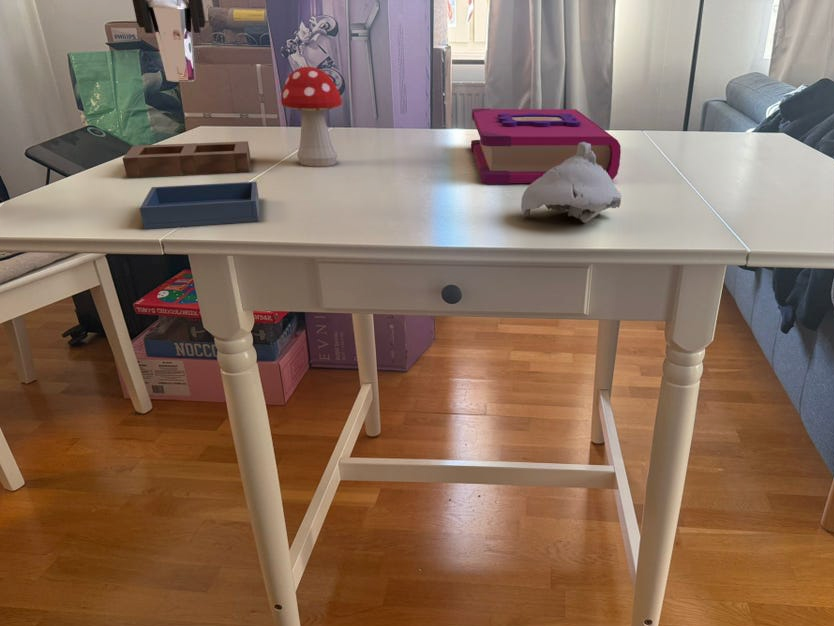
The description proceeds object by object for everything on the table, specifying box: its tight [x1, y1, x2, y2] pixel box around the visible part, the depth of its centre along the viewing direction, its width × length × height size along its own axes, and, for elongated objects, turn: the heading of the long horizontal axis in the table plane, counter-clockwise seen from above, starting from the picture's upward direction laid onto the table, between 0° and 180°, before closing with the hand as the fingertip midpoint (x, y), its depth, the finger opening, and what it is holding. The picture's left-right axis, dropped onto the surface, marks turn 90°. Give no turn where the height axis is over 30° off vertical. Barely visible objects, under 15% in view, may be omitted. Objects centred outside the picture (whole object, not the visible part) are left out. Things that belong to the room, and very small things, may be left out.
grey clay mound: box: [520, 142, 622, 224], centre depth 84 cm, size 12×12×11 cm
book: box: [470, 108, 622, 185], centre depth 113 cm, size 21×28×8 cm
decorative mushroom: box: [280, 66, 343, 167], centre depth 110 cm, size 10×9×15 cm
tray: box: [139, 181, 260, 230], centre depth 86 cm, size 13×10×3 cm
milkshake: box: [148, 0, 197, 83], centre depth 79 cm, size 4×5×10 cm
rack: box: [121, 140, 251, 179], centre depth 109 cm, size 18×10×3 cm, turn 106°
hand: (173, 31), depth 78 cm, fingers closed on milkshake, 4 cm apart
